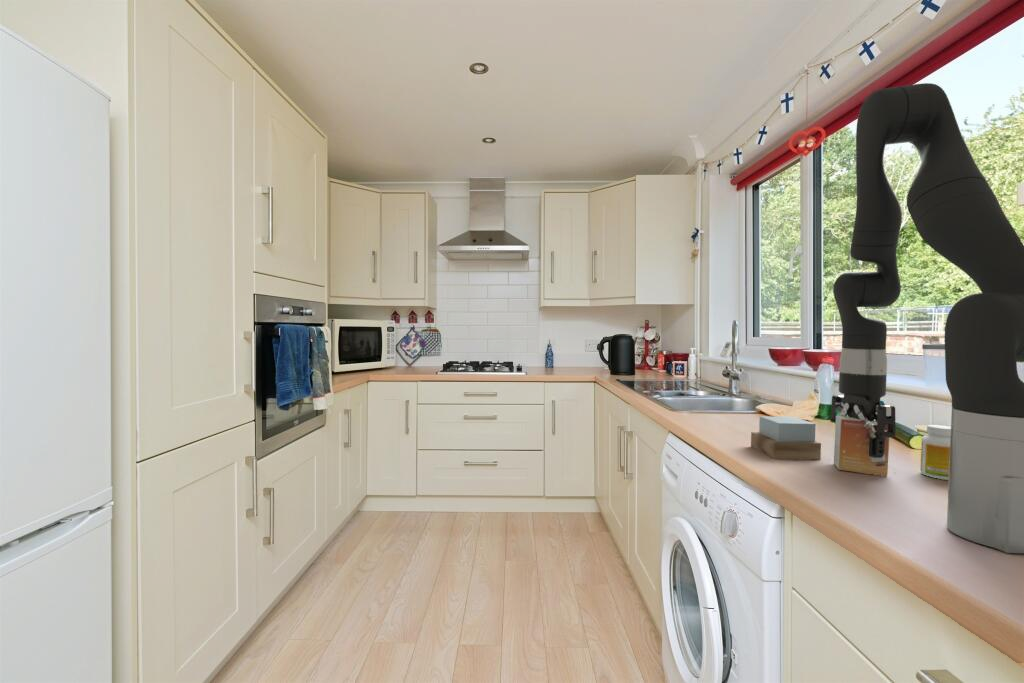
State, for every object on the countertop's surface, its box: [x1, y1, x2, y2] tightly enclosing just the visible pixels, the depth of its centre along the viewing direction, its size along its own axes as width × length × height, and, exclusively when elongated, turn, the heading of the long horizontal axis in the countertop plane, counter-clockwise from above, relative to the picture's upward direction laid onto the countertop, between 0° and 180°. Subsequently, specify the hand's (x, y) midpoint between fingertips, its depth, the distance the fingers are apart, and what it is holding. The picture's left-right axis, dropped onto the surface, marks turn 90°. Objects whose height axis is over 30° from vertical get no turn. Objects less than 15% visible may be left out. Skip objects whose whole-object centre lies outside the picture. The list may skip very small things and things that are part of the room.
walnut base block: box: [750, 431, 822, 460], centre depth 103 cm, size 10×10×4 cm
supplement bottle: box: [920, 424, 951, 481], centre depth 88 cm, size 5×5×10 cm
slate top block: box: [758, 415, 816, 442], centre depth 104 cm, size 8×8×4 cm
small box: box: [833, 414, 890, 477], centre depth 91 cm, size 8×6×10 cm
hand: (859, 451), depth 91 cm, fingers open, 8 cm apart
